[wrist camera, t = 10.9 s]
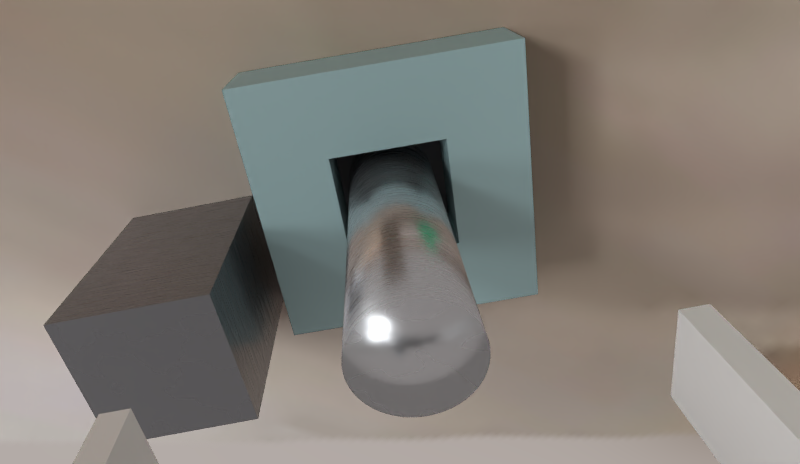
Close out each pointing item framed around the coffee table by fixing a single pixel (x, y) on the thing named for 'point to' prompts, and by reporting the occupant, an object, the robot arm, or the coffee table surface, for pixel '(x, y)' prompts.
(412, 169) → the cylinder
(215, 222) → the square bit
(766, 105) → the coffee table surface
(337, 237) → the socket plate
